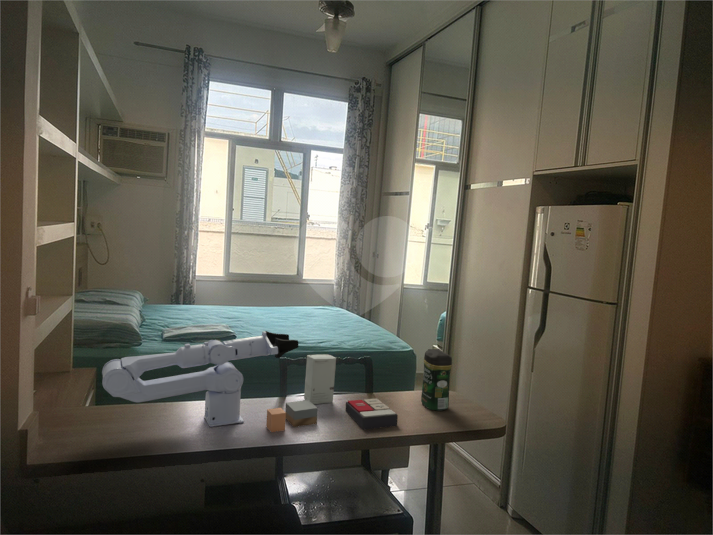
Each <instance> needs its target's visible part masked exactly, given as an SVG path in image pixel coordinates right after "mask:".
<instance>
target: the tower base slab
mask: <svg viewBox="0 0 713 535" xmlns="http://www.w3.org/2000/svg"><path fill="white" fill-rule="evenodd" d="M284 411H285V410H284ZM285 412H286V411H285ZM285 420H288V421H287V422H288V423H289V424H290V425H291V426H292V427H293V428H297V427H298V426H299V427H305V426H311V425H317V424H318V416H317V417H310V418H303V419H297V420H294V419H293V418H292V417H291V416H290V415H289V414H288V413H287V412H286V419H285Z"/></svg>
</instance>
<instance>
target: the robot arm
mask: <svg viewBox="0 0 713 535" xmlns="http://www.w3.org/2000/svg"><path fill="white" fill-rule="evenodd" d="M298 348H299V340H298V339H290V334H287V333H286V334H285V333H274V332H270V331H268V330H263V331H261V335H257V336H248V337H242V338H235V339H230V340H224V341H220V340H218V339H210V340H208V341H204V342H203V343H200V344H198V343H197V344H193V345H191V344H190V343H184V346H180V347H179V348H178V349H177V350H176V351H175V352H165V353H156V354H145V355H144V354H143V355H137V356H136V355H135V356H125V357H121V358H120V359H119V358H114V359H111V360H109V361H107V362H106V363H104V365H103V367H102V371H101V375H102V380H101V381H102V387H103V389H104V390H105V391H106V392H107V393H108V394H110V396H112V397H113V398H121V399H123V400H127V401H130V402H132V403H143V402H148V401H155V400H159V399H164V398H169V397H175V396H180V395H187V394H191V393H196V392H202V391H206V390H207V391H206V392H205V397H204V398H205V399H204V402H205V403H204V416H203V417H204V420H205V421H206V423H207V425H208V426H209V427H211V428H212V427H219V426H226V425H233V424H239V423H240V424H242V423H244V422H245V420H244V419H243V417H242V416H241V414H240V412H241V411H240V410H241V392H242V386H243V383H244V376H243V373H242V372H241V371H240V370H238V369H237V368H236V367H235V365H234V364H233V363H232V362H229V361H236V360H241V359H249V358H254V357H261V356H263V357H265V356H269V355H271V356H272V355H273V356H274V357H275V358H276V359H279V358H281V357H282V356H283V355H285V354H287V353H289V352H291V351H293V350H296V349H298ZM208 364H214V366H210V367H208V368H206V369H205V370H200V371H197V372H196V371H195V372H190V373H183V374H178V375H177V374H176V375H173V376H166V377H159V378H155V379H154V378H153V379H148V380H143V379H141V377H140V376H142V375H143V374H144V372H147V371H151V370H156V369H162V368H166V367H167V368H168V367H172V366H179V368H181V369H186V368H193V367H199V366H206V365H208Z"/></svg>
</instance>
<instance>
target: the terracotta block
mask: <svg viewBox="0 0 713 535" xmlns="http://www.w3.org/2000/svg"><path fill="white" fill-rule="evenodd" d="M286 420H287V419H286V412H285V410H284V409H283V408H282V407H276V408H267V409H266V422H265V423H266V425H265V427H266V426H267V427H266V428H267V430H268V431H269V430H270V431H271V432H270V431H269V432H270V433H276V431H277V432H283V431H285V430H286Z"/></svg>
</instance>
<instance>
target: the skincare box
mask: <svg viewBox="0 0 713 535" xmlns="http://www.w3.org/2000/svg"><path fill="white" fill-rule="evenodd" d="M336 364H337V357H335V356H333V355H331V354H307V355H306V366H305V367H306V368H305V381H304V394H303V399H304V400H309V401H310V402H311V403H312V404H313V405H320V404H321V405H322V404H329V403H333V402H334V391H335V390H334V389H335V376H336V367H337V366H336Z"/></svg>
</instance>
